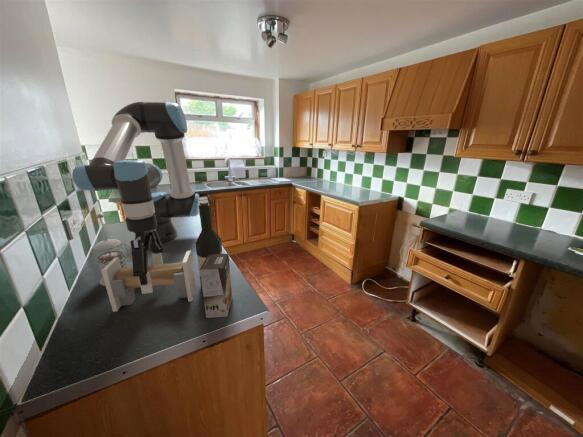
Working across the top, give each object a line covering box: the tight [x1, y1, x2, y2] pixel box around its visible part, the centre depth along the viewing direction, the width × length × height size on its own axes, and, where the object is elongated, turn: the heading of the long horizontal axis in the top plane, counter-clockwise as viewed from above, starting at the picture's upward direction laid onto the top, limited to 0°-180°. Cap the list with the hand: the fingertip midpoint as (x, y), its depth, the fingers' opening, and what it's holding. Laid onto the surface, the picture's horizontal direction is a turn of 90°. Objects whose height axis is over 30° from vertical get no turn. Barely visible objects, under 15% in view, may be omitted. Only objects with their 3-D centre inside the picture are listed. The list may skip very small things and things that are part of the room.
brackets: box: [101, 250, 197, 313], centre depth 76 cm, size 8×22×14 cm, turn 103°
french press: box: [92, 213, 132, 287], centre depth 86 cm, size 10×12×25 cm
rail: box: [116, 261, 184, 289], centre depth 75 cm, size 4×18×5 cm, turn 103°
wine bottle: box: [194, 201, 224, 288], centre depth 81 cm, size 8×8×30 cm
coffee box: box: [200, 253, 233, 319], centre depth 71 cm, size 9×6×16 cm
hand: (154, 281), depth 76 cm, fingers open, 11 cm apart
